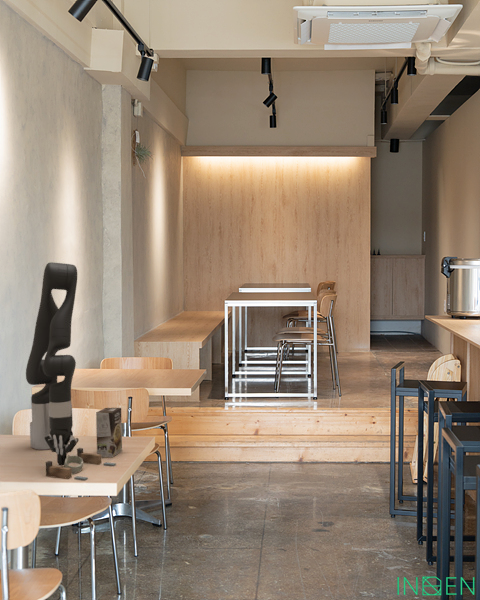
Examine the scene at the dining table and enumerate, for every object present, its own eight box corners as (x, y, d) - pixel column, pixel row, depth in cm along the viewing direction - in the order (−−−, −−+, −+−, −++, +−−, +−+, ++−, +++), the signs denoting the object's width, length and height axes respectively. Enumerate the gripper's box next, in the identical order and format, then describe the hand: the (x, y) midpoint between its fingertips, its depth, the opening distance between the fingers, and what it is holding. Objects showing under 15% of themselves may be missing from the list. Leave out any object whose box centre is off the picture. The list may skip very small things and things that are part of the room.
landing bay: (74, 479, 205) (74, 477, 205) (106, 463, 221) (105, 462, 221) (84, 480, 204) (84, 478, 204) (115, 465, 220) (115, 463, 220)
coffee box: (113, 457, 229) (112, 412, 228) (96, 456, 230) (95, 412, 229) (123, 450, 238) (122, 407, 237) (106, 450, 239) (105, 406, 238)
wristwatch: (67, 466, 219) (67, 451, 219) (86, 466, 219) (85, 451, 219) (60, 474, 210) (60, 459, 210) (79, 474, 210) (79, 459, 210)
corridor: (45, 475, 209) (45, 462, 209) (79, 460, 226) (79, 448, 226) (68, 478, 206) (68, 464, 205) (101, 463, 222) (101, 450, 222)
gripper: (37, 415, 216) (39, 465, 217) (69, 418, 211) (71, 470, 212) (52, 410, 223) (53, 459, 224) (83, 413, 218) (85, 463, 218)
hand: (62, 464), depth 218 cm, fingers closed
